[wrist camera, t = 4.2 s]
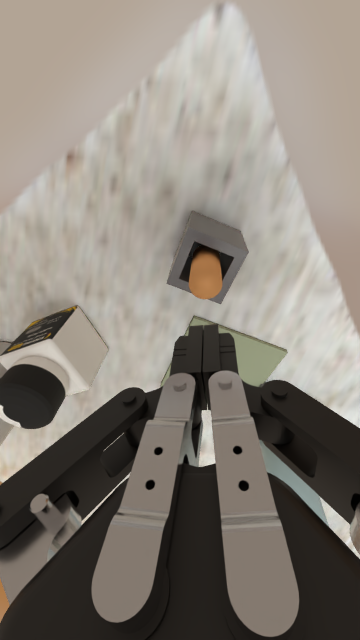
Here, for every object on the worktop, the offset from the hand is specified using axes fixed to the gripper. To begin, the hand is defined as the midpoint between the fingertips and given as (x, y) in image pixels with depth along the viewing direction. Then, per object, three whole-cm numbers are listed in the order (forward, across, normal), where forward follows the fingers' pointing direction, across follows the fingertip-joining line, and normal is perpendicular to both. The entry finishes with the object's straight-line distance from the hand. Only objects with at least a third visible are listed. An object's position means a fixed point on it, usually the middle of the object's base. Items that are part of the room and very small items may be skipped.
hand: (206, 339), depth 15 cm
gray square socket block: (+16, 0, 0) cm, 16 cm away
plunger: (+12, 0, 0) cm, 12 cm away
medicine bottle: (+16, -18, -9) cm, 26 cm away
